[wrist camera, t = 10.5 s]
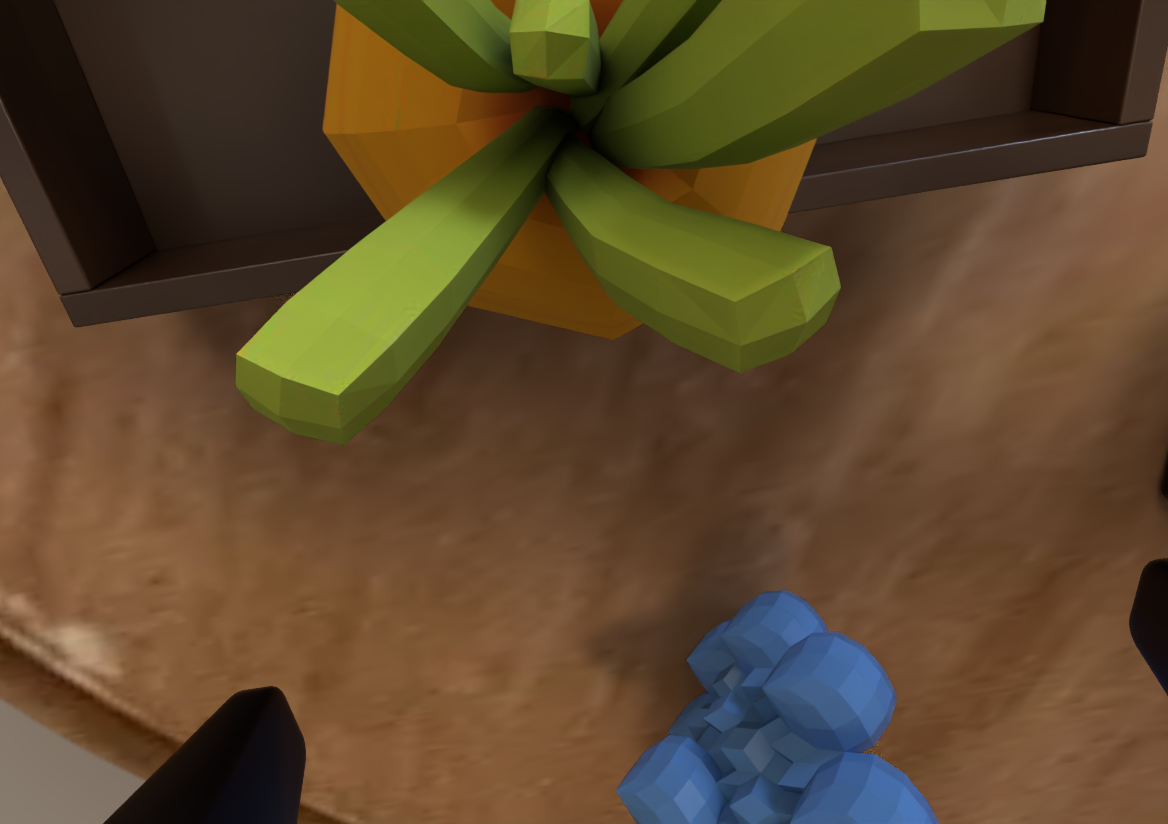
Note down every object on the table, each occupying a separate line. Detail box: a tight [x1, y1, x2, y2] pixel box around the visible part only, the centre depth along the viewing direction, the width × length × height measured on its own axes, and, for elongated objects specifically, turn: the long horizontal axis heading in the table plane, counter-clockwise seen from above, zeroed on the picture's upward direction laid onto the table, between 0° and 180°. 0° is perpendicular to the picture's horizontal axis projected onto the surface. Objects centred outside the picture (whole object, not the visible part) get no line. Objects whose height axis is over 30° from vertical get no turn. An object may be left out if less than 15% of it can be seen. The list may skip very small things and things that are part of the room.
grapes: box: [616, 590, 939, 824], centre depth 20 cm, size 12×7×12 cm, turn 171°
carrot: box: [235, 0, 1046, 446], centre depth 9 cm, size 5×5×15 cm
